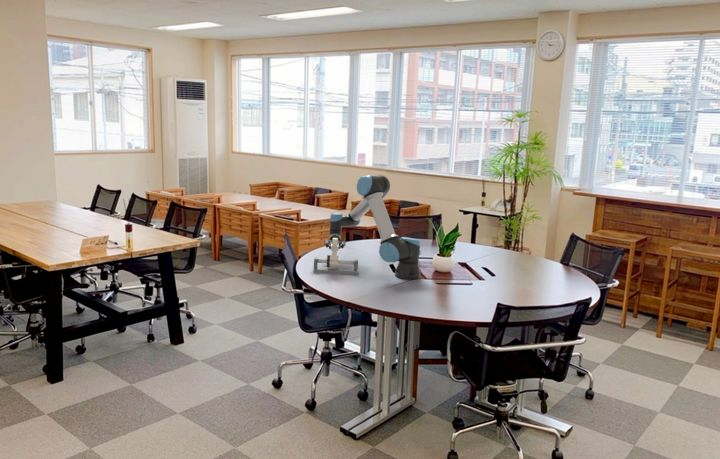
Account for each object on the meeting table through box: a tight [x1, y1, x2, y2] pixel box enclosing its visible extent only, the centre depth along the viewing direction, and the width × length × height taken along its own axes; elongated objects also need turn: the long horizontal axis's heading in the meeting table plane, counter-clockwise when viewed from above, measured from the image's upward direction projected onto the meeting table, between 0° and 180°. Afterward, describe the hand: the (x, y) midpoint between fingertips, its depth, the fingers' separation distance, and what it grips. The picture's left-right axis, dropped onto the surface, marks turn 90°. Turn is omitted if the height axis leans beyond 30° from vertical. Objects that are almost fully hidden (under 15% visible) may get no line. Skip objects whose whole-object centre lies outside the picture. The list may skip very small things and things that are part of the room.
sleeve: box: [329, 238, 339, 268], centre depth 347 cm, size 5×7×18 cm
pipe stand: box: [312, 257, 359, 276], centre depth 348 cm, size 26×10×8 cm, turn 92°
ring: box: [326, 254, 330, 267], centre depth 348 cm, size 2×7×7 cm, turn 2°
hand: (334, 248), depth 341 cm, fingers closed on sleeve, 3 cm apart
